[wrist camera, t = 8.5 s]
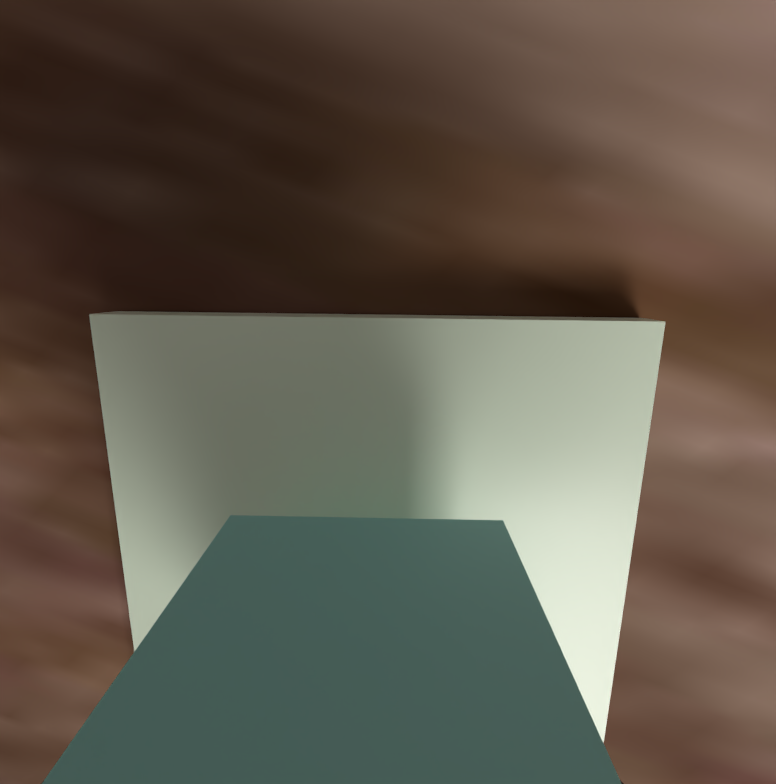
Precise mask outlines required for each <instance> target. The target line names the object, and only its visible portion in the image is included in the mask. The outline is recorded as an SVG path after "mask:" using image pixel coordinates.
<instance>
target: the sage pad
mask: <svg viewBox="0 0 776 784" xmlns="http://www.w3.org/2000/svg"><path fill="white" fill-rule="evenodd" d="M89 318H90V325H91V333H92V340H93V348H94V355H95V362H96V370H97V377H98V385H99V392H100V400H101V407H102V415H103V422H104V429H105V437H106V444H107V452H108V459H109V467H110V474H111V482H112V489H113V496H114V504H115V511H116V519H117V526H118V534H119V541H120V549H121V556H122V563H123V571H124V578H125V586H126V593H127V601H128V608H129V616H130V623H131V630H132V638H133V645H134V652H135V650H136V649H137V647H138V646H139V645H140V643H141V642H142V640H143V639H144V638H145V636H146V635H147V633H148V632H149V630H150V629H151V628H152V626H153V625H154V623H155V622H156V620H157V619H158V618H159V616H160V615H161V613H162V612H163V610H164V609H165V608H166V606H167V605H168V603H169V602H170V600H171V599H172V598H173V596H174V595H175V593H176V592H177V591H178V589H179V588H180V586H181V585H182V583H183V582H184V581H185V579H186V578H187V576H188V575H189V573H190V572H191V571H192V569H193V568H194V566H195V565H196V563H197V562H198V561H199V559H200V558H201V556H202V555H203V553H204V552H205V551H206V549H207V548H208V546H209V545H210V544H211V542H212V541H213V539H214V538H215V536H216V535H217V534H218V532H219V531H220V529H221V528H222V526H223V525H224V524H225V522H226V521H227V519H228V518H229V516H230V515H249V516H302V517H355V518H408V519H461V520H503V521H504V523H505V526H506V528H507V530H508V532H509V535H510V537H511V539H512V541H513V544H514V546H515V548H516V550H517V552H518V555H519V557H520V559H521V561H522V564H523V566H524V568H525V570H526V572H527V575H528V577H529V579H530V581H531V584H532V586H533V588H534V590H535V592H536V595H537V597H538V599H539V601H540V604H541V606H542V608H543V610H544V612H545V615H546V617H547V619H548V621H549V624H550V626H551V628H552V630H553V632H554V635H555V637H556V639H557V641H558V644H559V646H560V648H561V650H562V652H563V655H564V657H565V659H566V661H567V664H568V666H569V668H570V670H571V672H572V675H573V677H574V679H575V681H576V684H577V686H578V688H579V690H580V692H581V695H582V697H583V699H584V701H585V704H586V706H587V708H588V710H589V713H590V715H591V717H592V719H593V721H594V724H595V726H596V728H597V730H598V733H599V735H600V737H601V739H602V741H603V743H604V736H605V729H606V723H607V716H608V709H609V702H610V695H611V689H612V682H613V675H614V668H615V661H616V655H617V648H618V641H619V634H620V628H621V621H622V614H623V607H624V600H625V594H626V587H627V580H628V573H629V566H630V560H631V553H632V546H633V539H634V532H635V526H636V519H637V512H638V505H639V498H640V492H641V485H642V478H643V471H644V464H645V458H646V451H647V444H648V437H649V430H650V424H651V417H652V410H653V403H654V396H655V390H656V383H657V376H658V369H659V362H660V356H661V349H662V342H663V335H664V328H665V321H658V320H652V319H645V318H615V317H537V316H458V315H380V314H302V313H223V312H145V311H113V312H104V313H95V314H89Z"/></svg>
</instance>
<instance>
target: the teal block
mask: <svg viewBox="0 0 776 784" xmlns="http://www.w3.org/2000/svg"><path fill="white" fill-rule="evenodd" d="M42 784H621V781H620V779H619V777H618V775H617V773H616V770H615V768H614V766H613V764H612V761H611V759H610V757H609V755H608V753H607V750H606V748H605V746H604V744H603V741H602V739H601V737H600V735H599V733H598V730H597V728H596V726H595V724H594V721H593V719H592V717H591V715H590V713H589V710H588V708H587V706H586V704H585V701H584V699H583V697H582V695H581V692H580V690H579V688H578V686H577V684H576V681H575V679H574V677H573V675H572V672H571V670H570V668H569V666H568V664H567V661H566V659H565V657H564V655H563V652H562V650H561V648H560V646H559V644H558V641H557V639H556V637H555V635H554V632H553V630H552V628H551V626H550V624H549V621H548V619H547V617H546V615H545V612H544V610H543V608H542V606H541V604H540V601H539V599H538V597H537V595H536V592H535V590H534V588H533V586H532V584H531V581H530V579H529V577H528V575H527V572H526V570H525V568H524V566H523V564H522V561H521V559H520V557H519V555H518V552H517V550H516V548H515V546H514V544H513V541H512V539H511V537H510V535H509V532H508V530H507V528H506V526H505V523H504V521H503V520H461V519H408V518H355V517H302V516H249V515H230V516H229V518H228V519H227V521H226V522H225V524H224V525H223V526H222V528H221V529H220V531H219V532H218V534H217V535H216V536H215V538H214V539H213V541H212V542H211V544H210V545H209V546H208V548H207V549H206V551H205V552H204V553H203V555H202V556H201V558H200V559H199V561H198V562H197V563H196V565H195V566H194V568H193V569H192V571H191V572H190V573H189V575H188V576H187V578H186V579H185V581H184V582H183V583H182V585H181V586H180V588H179V589H178V591H177V592H176V593H175V595H174V596H173V598H172V599H171V600H170V602H169V603H168V605H167V606H166V608H165V609H164V610H163V612H162V613H161V615H160V616H159V618H158V619H157V620H156V622H155V623H154V625H153V626H152V628H151V629H150V630H149V632H148V633H147V635H146V636H145V638H144V639H143V640H142V642H141V643H140V645H139V646H138V647H137V649H136V650H135V652H134V653H133V655H132V656H131V657H130V659H129V660H128V662H127V663H126V665H125V666H124V667H123V669H122V670H121V672H120V673H119V675H118V676H117V677H116V679H115V680H114V682H113V683H112V684H111V686H110V687H109V689H108V690H107V692H106V693H105V694H104V696H103V697H102V699H101V700H100V702H99V703H98V704H97V706H96V707H95V709H94V710H93V712H92V713H91V714H90V716H89V717H88V719H87V720H86V722H85V723H84V724H83V726H82V727H81V729H80V730H79V731H78V733H77V734H76V736H75V737H74V739H73V740H72V741H71V743H70V744H69V746H68V747H67V749H66V750H65V751H64V753H63V754H62V756H61V757H60V759H59V760H58V761H57V763H56V764H55V766H54V767H53V768H52V770H51V771H50V773H49V774H48V776H47V777H46V778H45V780H44V781H43V783H42Z"/></svg>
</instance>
